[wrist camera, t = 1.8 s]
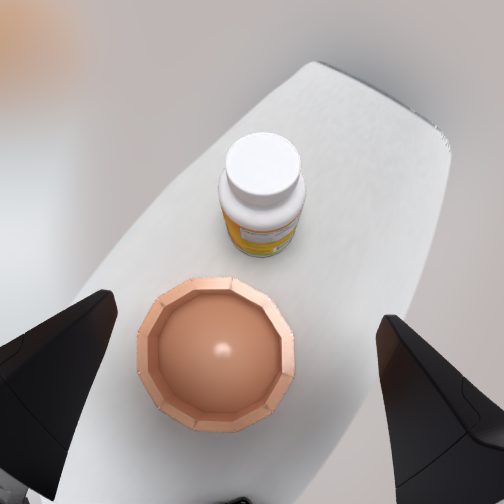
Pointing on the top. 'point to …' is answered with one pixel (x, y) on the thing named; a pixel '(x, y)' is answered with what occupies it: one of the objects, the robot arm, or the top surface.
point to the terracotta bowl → (215, 354)
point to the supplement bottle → (262, 193)
